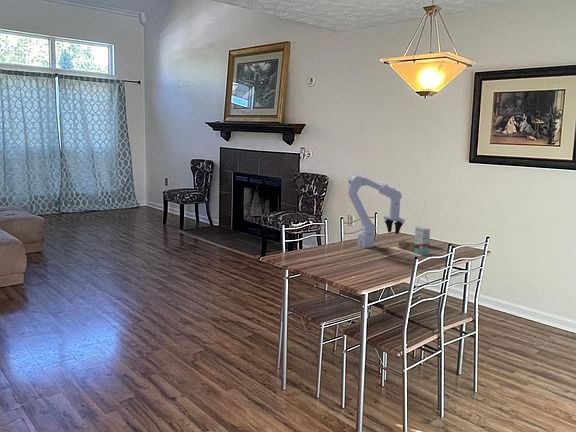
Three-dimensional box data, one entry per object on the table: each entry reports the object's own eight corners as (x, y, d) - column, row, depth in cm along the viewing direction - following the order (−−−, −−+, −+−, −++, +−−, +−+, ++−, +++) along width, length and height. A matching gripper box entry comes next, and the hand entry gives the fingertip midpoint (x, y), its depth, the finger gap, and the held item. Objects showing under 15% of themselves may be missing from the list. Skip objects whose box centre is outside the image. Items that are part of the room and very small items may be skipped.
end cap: (420, 255, 281) (420, 249, 280) (413, 253, 284) (414, 248, 284) (429, 253, 285) (429, 248, 285) (423, 251, 289) (423, 246, 288)
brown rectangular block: (398, 248, 296) (399, 241, 295) (403, 247, 298) (403, 240, 297) (414, 252, 286) (415, 245, 285) (419, 251, 288) (419, 244, 288)
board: (418, 257, 278) (418, 256, 278) (387, 249, 297) (387, 247, 297) (433, 254, 286) (433, 253, 286) (402, 246, 304) (402, 245, 304)
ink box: (429, 248, 303) (430, 228, 301) (422, 248, 301) (423, 229, 299) (420, 244, 311) (421, 226, 309) (413, 245, 309) (415, 226, 307)
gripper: (408, 211, 295) (407, 234, 297) (390, 208, 306) (388, 230, 309) (400, 212, 291) (399, 235, 293) (381, 209, 302) (380, 231, 305)
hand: (393, 232), depth 301 cm, fingers open, 5 cm apart
